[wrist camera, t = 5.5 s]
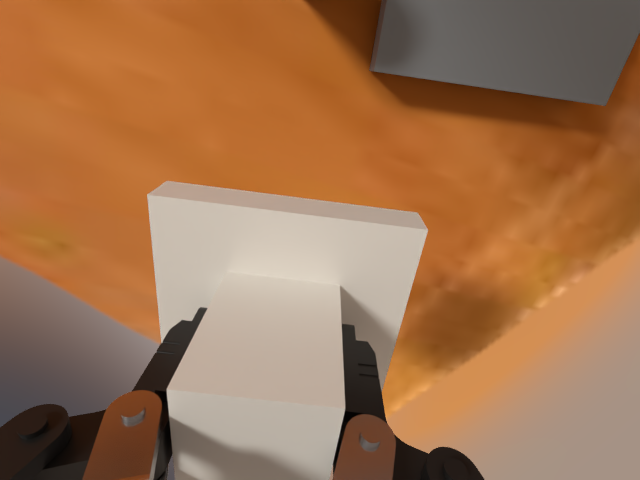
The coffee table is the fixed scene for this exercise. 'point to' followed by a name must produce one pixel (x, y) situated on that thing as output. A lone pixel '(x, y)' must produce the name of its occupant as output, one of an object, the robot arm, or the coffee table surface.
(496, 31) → the socket plate
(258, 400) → the lid
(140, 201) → the coffee table surface
